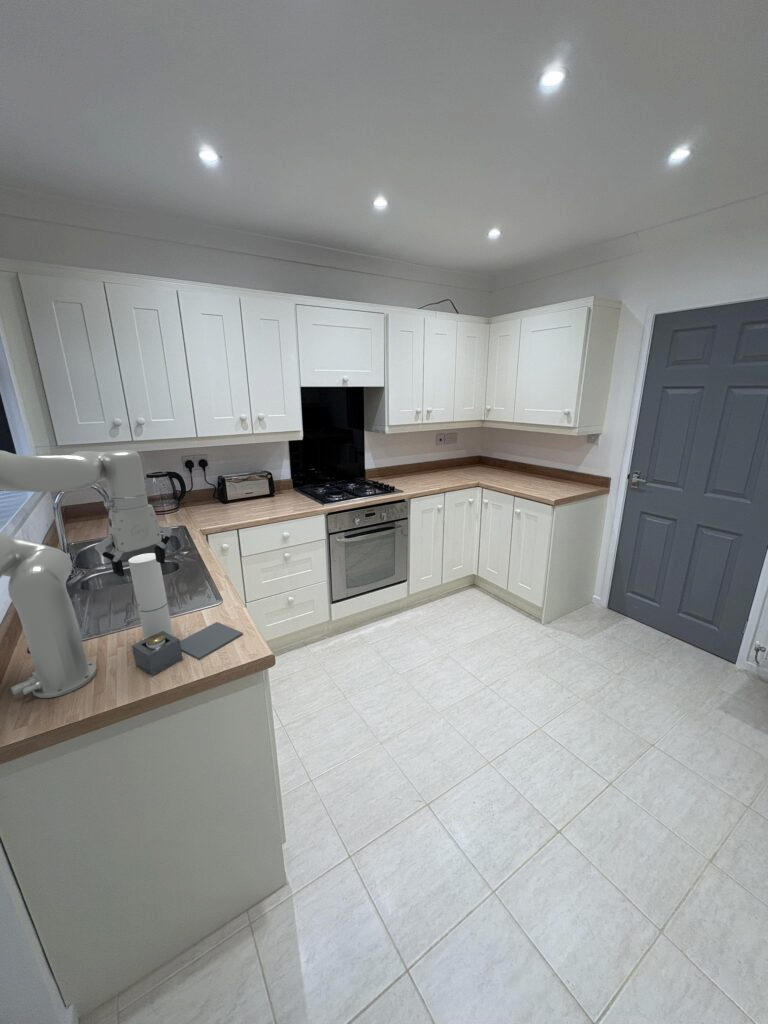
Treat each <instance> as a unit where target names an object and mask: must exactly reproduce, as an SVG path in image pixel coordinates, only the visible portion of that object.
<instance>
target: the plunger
mask: <svg viewBox="0 0 768 1024" xmlns="http://www.w3.org/2000/svg"><path fill="white" fill-rule="evenodd" d="M165 643H166V642H165V637H164V635H163V634H155V635H152V636H150V637H148V638H147V639H146V645H147V648H148V649H150V650H153V649H155V648H157V647H159V646H161V645H163V644H165Z"/></svg>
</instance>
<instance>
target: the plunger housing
mask: <svg viewBox="0 0 768 1024" xmlns="http://www.w3.org/2000/svg"><path fill="white" fill-rule="evenodd" d="M157 634H163V635H164V637H165V642H166V643H165V644H163V645H161V646H159V647H157V648H155V649H153V650H150V649H148V648H147V645H146V639H144V638H143V640H140V641H138V642H136V643H134V644H132V645H131V648H132V649H131V650H132V653H133V654H132V655H133V659H134V664H135V667H136V668H139V669H140V670H142V671H143V672H144V673H146V674H148V675H150V676H151V677H155V676H156V675H159V674H160V673H162V672H164V671H165V670H167V669H168V668H171V667H172V666H175V665H176V664H178V663H180V662H181V661H183V660H184V657H183V651H182V650H181V644H180V641H181V639H180V638H178V637H176V636H174V635H173V636H172V635H170V634H168V633H166V632H164V631H161V632H159V633H157Z"/></svg>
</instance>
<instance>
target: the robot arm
mask: <svg viewBox="0 0 768 1024" xmlns="http://www.w3.org/2000/svg"><path fill="white" fill-rule="evenodd" d="M142 464H143V463H142V459H141V455H140V454H139V452H137V451H136V450H132V449H131V450H130V449H121V450H119V449H118V450H111V451H93V450H92V451H91V450H79V451H75V452H73V453H70V454H67V455H28V454H27V455H24V454H16V453H12V452H8V451H6V450H1V449H0V491H1V492H4V491H5V492H28V493H29V492H31V493H41V492H42V493H46V492H47V493H48V492H50V493H51V492H67V491H69V492H71V491H80V490H86V489H89V488H91V487H93V486H95V485H96V484H97V483H99V482H101V481H106V484H107V485H106V486H107V491H108V496H109V497H108V500H107V501H103V505H104V507H105V508H110V510H108V536H106V537H105V538H104V539H103V540H102V541H100V542H99V543H97V544H96V545H95V546H94V549H95V551H97V552H98V553H99V554H100V556H101V557H104V558H106V559H107V560H110V562H111V567H112V572H113V574H115V575H117V576H118V577H121V578H122V577H124V576H125V571H124V565H123V561H122V560H121V559H120V558H121V557H122V555H123V554H124V553H129V552H133V551H134V552H135V551H138V550H140V549H144V548H148V547H151V546H154V548H153V549H154V553H155V556H156V561H157V562H159V563H160V565H165V563H166V561H165V559H166V552H165V551H166V550H165V548H166V546H167V544H168V543H169V541H170V537H171V535H172V532H173V529H172V528H170V527H166V526H162V525H159V520H158V516H157V514H156V512H155V509H154V507H153V505H152V504H149V501H148V496H147V489H146V483H145V477H144V472H143V465H142ZM161 532H162V533H163V535H162V533H161ZM109 545H110V546H111V548H112V550H111V552H108V551H107V550H106V548H107V547H108V546H109ZM72 569H73V562H72V560H71V557H70V556H69V555H68V554H67V553H66V552H64V551H63V550H61V549H59V548H57V547H54V546H50V545H46V544H42V543H39V542H38V543H37V542H34V541H30V540H27V539H22V538H19V537H15V536H10V535H6V534H0V579H1V578H2V577H3V576H4V577H10V578H9V580H8V586H7V590H8V595H9V597H10V600H11V602H12V604H13V606H14V608H15V609H16V612H17V614H18V617H19V620H20V622H21V626H22V630H23V633H24V636H25V639H26V642H27V647H28V650H29V653H30V657H31V660H32V664H33V667H34V671H31V675H32V676H30V677H28V678H27V680H25V681H24V682H20V683H18V684H16V685H13V686H11V687H10V691H11V692H12V694H13V696H16V695H17V694H20V693H23V694H24V695H25V696H26V695H28V694H29V693H32V695H33V696H34V697H36V698H39V699H48V698H49V699H50V698H56V697H60V696H65V695H66V694H69V693H72V692H74V691H76V690H78V689H80V688H81V687H83V686H85V685H87V684H88V683H89V682H90V681H91V680H93V678H94V677H95V676H96V674H97V673H98V672H97V671H98V667H97V665H96V664H95V662H92V661H89V660H87V657H86V651H85V647H84V644H83V640H82V636H81V633H80V628H79V625H78V621H77V616H76V613H75V609H74V606H73V602H72V600H71V598H70V595H69V592H68V589H67V581H68V578H69V576H70V575H71V572H72Z"/></svg>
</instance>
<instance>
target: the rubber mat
mask: <svg viewBox="0 0 768 1024" xmlns="http://www.w3.org/2000/svg"><path fill="white" fill-rule="evenodd" d="M241 635H242V636H243V635H244V632H242V631H240V630H238V629H235V628H233V627H230V626H228V625H225V624H223V623H221V622H219V621H216V622H214V623H212V624H210V625H208V626H206V627H205V628H202V629H200V630H199V631H196V632H195V633H192V634H191V635H189V636H186V637H184V638H183V639H180V644H181V650H182V653H185V654H186V655H189V656H190V657H192V658H194V659H196V660H198V661H200V660H202V659H204V658H205V657H207V656H209V655H211V654H213V653H215V652H216V651H217V650H219V649H221V648H223V647H225V646H226V645H228V644H229V643H231V642H234V640H236V639H238V638H239V637H242V636H241Z"/></svg>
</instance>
